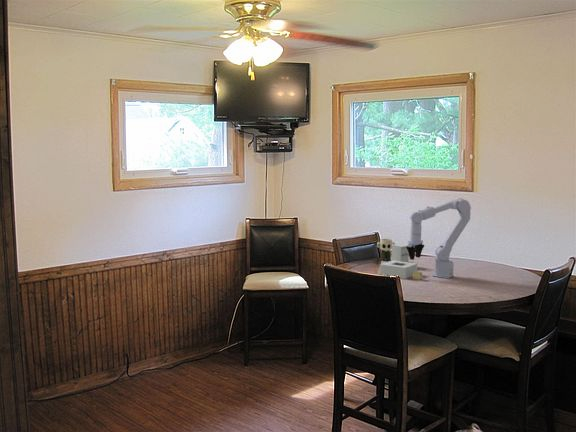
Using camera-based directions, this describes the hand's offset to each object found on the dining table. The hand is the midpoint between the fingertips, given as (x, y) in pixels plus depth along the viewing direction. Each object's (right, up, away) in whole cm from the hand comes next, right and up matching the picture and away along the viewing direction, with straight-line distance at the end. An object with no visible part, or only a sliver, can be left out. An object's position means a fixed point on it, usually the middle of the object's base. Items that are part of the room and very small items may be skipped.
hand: (415, 258), depth 341 cm
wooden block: (-1, -11, -9) cm, 14 cm away
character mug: (-9, -4, +43) cm, 44 cm away
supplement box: (-4, -7, +26) cm, 27 cm away
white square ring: (-9, -9, +2) cm, 13 cm away
